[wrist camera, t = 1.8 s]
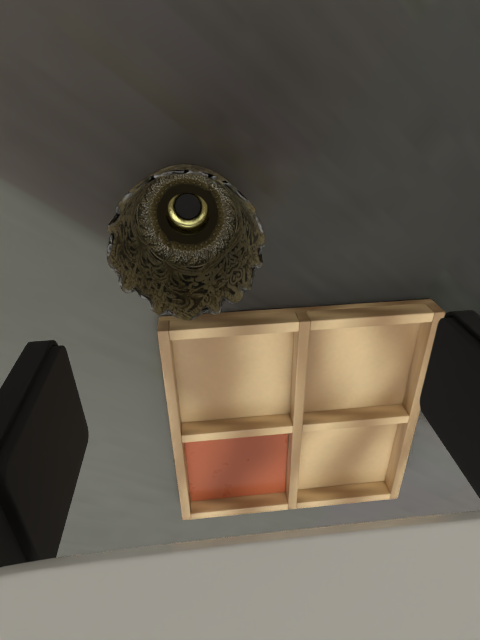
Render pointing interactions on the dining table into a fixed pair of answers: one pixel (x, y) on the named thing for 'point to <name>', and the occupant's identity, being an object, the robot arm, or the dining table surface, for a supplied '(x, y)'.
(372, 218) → the dining table surface
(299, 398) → the divided tray
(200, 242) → the dark bronze bell shape
